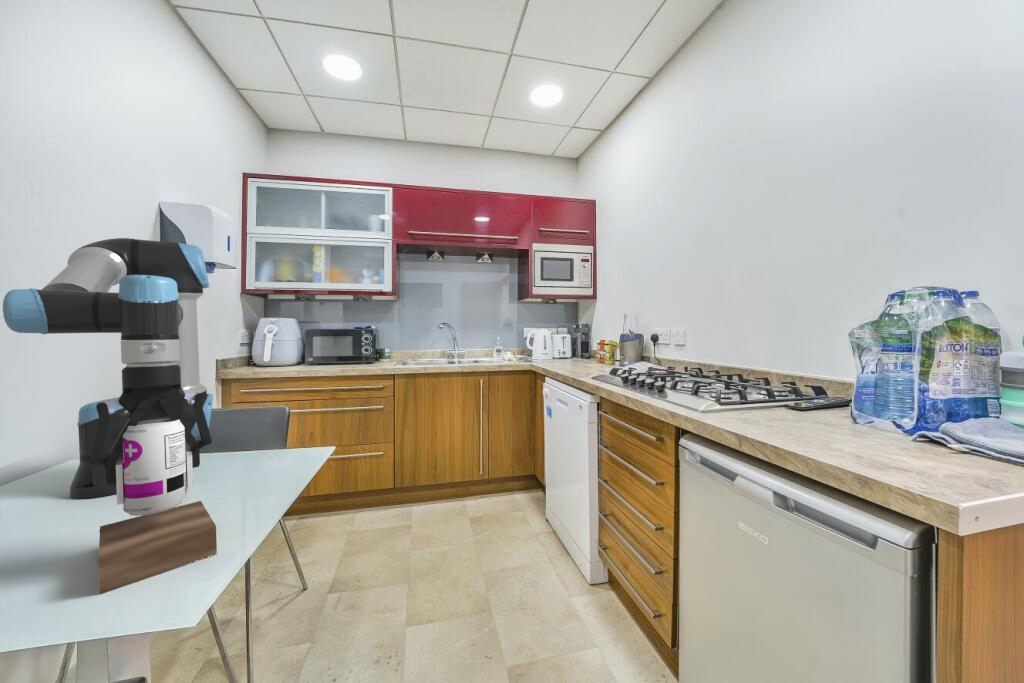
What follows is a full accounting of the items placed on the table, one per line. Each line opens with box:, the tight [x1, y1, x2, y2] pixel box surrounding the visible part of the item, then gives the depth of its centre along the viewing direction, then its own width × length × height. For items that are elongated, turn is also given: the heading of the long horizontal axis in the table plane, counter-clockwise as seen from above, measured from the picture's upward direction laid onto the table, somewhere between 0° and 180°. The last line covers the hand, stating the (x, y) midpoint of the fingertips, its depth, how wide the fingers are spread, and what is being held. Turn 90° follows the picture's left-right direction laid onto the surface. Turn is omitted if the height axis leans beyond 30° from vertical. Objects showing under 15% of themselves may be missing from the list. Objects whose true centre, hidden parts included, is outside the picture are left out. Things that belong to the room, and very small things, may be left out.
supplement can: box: [121, 418, 188, 517], centre depth 67 cm, size 8×8×15 cm
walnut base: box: [98, 500, 218, 595], centre depth 68 cm, size 16×14×5 cm
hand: (156, 493), depth 68 cm, fingers closed on supplement can, 8 cm apart
